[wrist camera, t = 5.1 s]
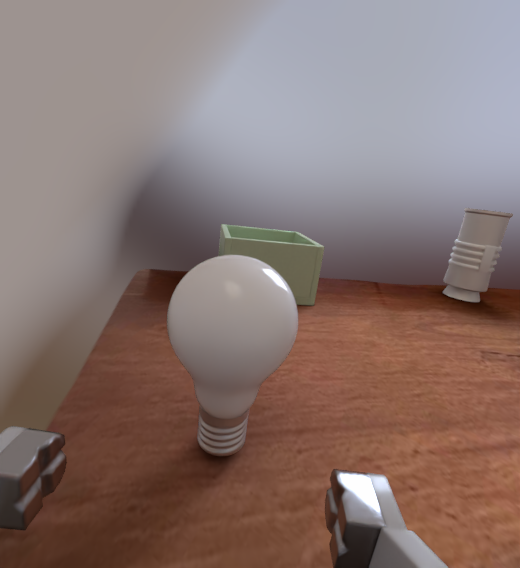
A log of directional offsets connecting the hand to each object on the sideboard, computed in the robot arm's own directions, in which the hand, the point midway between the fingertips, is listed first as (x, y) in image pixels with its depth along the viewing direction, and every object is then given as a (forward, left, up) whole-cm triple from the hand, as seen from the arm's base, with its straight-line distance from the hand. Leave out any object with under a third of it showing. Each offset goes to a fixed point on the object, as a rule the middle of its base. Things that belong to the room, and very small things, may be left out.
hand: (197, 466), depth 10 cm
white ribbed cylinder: (+45, +40, -6) cm, 61 cm away
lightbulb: (+1, +7, -6) cm, 9 cm away
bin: (+8, +37, -6) cm, 38 cm away
